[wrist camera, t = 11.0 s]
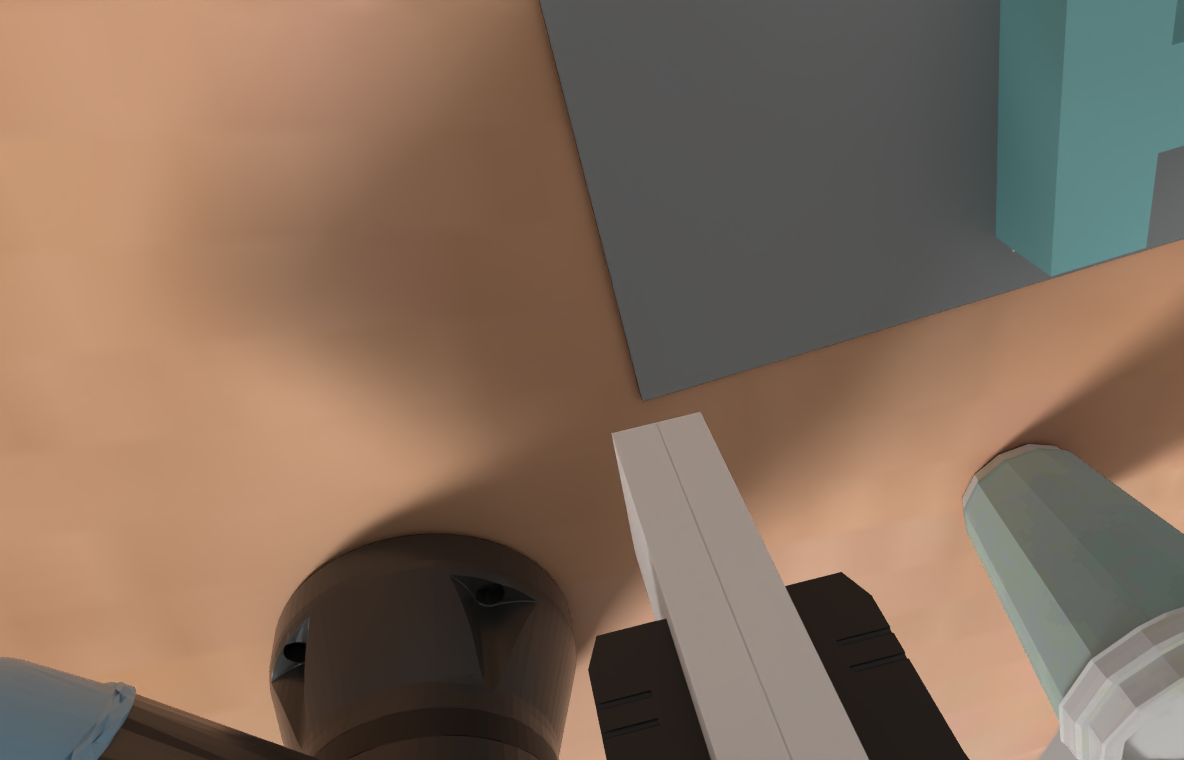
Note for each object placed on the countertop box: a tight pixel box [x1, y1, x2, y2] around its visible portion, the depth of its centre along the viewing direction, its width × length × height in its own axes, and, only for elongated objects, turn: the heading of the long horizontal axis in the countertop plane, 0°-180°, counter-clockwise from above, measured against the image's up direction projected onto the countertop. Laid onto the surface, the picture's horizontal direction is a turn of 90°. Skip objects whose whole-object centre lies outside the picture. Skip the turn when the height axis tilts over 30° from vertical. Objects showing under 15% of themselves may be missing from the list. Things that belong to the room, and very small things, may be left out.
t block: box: [996, 0, 1184, 276], centre depth 34 cm, size 12×12×4 cm
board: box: [539, 0, 1184, 401], centre depth 35 cm, size 18×34×1 cm, turn 104°
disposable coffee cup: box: [962, 444, 1184, 760], centre depth 42 cm, size 11×11×15 cm
